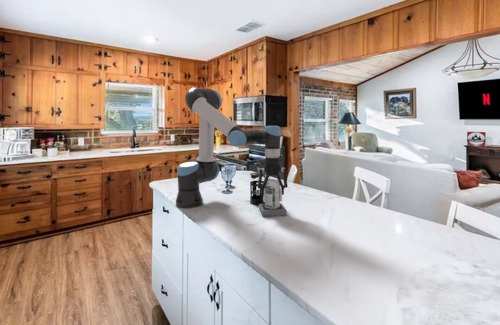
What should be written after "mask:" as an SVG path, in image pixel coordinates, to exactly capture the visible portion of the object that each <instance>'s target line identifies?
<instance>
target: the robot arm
mask: <svg viewBox="0 0 500 325" xmlns="http://www.w3.org/2000/svg"><path fill="white" fill-rule="evenodd" d="M184 102H185V106H187V108H188V110H190V111H191V112H193V113H194V114H197V115H198V116H199V123H198V125H199V126H198V127H199V131H198V134H199V135H198V156H197V158H196V159H195V161H187V162H183V163H180V164H179V165H178V166H177V171H176V174H177V187H178V188H177V190H178V192H177V195H176V198H175V206H176V207H178V208H183V209H185V208H187V209H188V208H195V207H199V206H202V205H203V204H204V200H203V197H202V193H201V191H200V184H202V183H207V182H212V181H213V180H216V179H217V177H218V176H219V173H220V166H219V164H218V162H216V161H217V159H216V158H215V157H214V147H215V146H214V144H215V129H216V130H218V131H219V132H220V133H222V134H223V135H224V136H226V138H227V140H228V142H229V145H230V146H232V147H235V148H236V147H237V148H241V147H248V146H253V145H263V146H264V156H265V158H264V167H263V168H258V172H259V177H258V179H257V181H258V183H257V184H258V186H257V189H259V190H260V189H261V195H262V196H263V201H264V202H266V190H265V189H264V188H265V185H266V183H267V181H268V179H270V176H272V177H273V176H275V177H276V179H277V180H279V183H280V203H282V201H283V196H284V195H285V188H288V186H289V185H288V181H287V180H288V179H287V168H286V167H281V158H280V156H281V127H280V126H278V125H266V126H265V127H264V129H251V128H250V129H246V130H244V129H242V128H241V127H240V126H239V125H237V124H236V123H235V122H234V121H232V120H230V119H229V118H228V117H227V116H226V115H224V114H223V113H222V112H220V111H219V110H220V108H221V106H222V104H223V99H222V97H221V94H220V93H219V92H218V91H217V90H216V89H212V88H200V87H192V88H190V89H189V90H187V91H186V93H185V97H184ZM280 172H282V174H281V175H282V179H283V180H282V179H281V177H280V174H279V173H280ZM263 173H266V175H265V178H264V179H263V177H262V175H263ZM261 181H263V183H261ZM261 184H262V186H261Z"/></svg>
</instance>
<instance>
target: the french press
mask: <svg viewBox="0 0 500 325" xmlns="http://www.w3.org/2000/svg"><path fill="white" fill-rule="evenodd" d="M254 165H256V167H257V168H259V167H260V165H262V163H261V162H256V163H255V162H254ZM266 173H267V172H263V175H262V178H264V179H265V176H266ZM249 175H250V178H251V179H253V180H252V181H250V183H249V185H250V187H249V188H250V196H249V197H250V198H249V199H250V200H249V203H250V204H251V205H254V206H259V204H265V202H264V201H263V196H262V195H261V189H260V188H259V189H258V180H257V179H258V178H259V171H257V172H251V173H250V174H249ZM263 181H264V180H262V181H261V186H262V184H263ZM264 189H265V188H264Z"/></svg>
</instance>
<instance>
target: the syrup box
mask: <svg viewBox="0 0 500 325" xmlns="http://www.w3.org/2000/svg"><path fill="white" fill-rule="evenodd" d="M280 188H281V186H280V183H279V180H278V179H277V178H268V181H267V183H266V185H265V190H266V202H265V208H270V209H276V208H278V207H280V203H281V202H280Z"/></svg>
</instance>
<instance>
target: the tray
mask: <svg viewBox="0 0 500 325" xmlns="http://www.w3.org/2000/svg"><path fill="white" fill-rule="evenodd" d="M258 210H259V212H260V214H261V217H262V218H267V217H268V218H269V217H270V218H271V217H287V216H288V215H287V212H288V211H287V209H286V207H285V206H284V205H283V203H282V202H280V207H278V208H276V209H270V208H265V204H259V205H258Z"/></svg>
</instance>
